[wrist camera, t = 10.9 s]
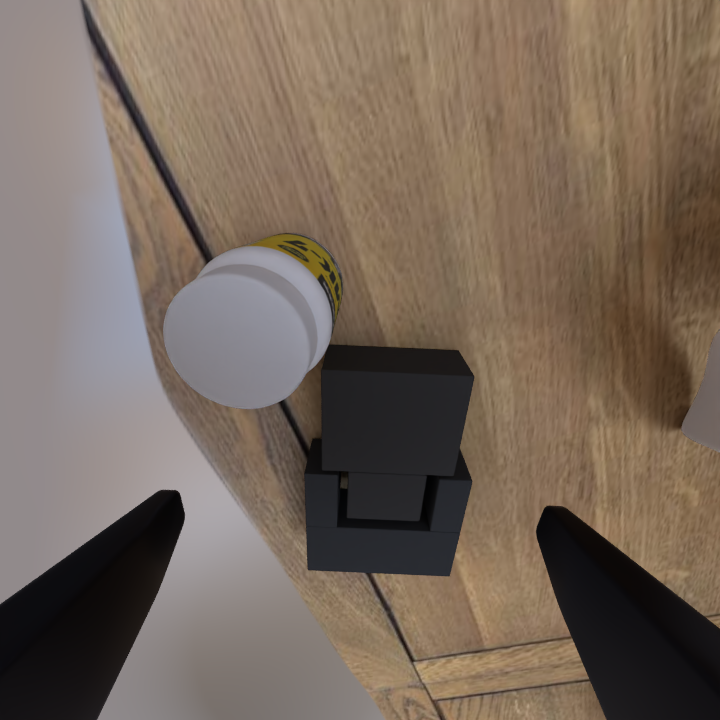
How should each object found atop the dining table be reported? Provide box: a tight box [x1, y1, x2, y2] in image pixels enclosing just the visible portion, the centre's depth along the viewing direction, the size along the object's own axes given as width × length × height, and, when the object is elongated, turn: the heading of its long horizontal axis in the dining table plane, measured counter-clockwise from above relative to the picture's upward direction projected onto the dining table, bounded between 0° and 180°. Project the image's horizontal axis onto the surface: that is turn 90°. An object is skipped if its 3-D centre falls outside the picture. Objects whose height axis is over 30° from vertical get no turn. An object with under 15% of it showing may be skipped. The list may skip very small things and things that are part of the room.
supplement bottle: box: [163, 233, 343, 409], centre depth 13 cm, size 5×5×8 cm
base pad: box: [304, 439, 472, 576], centre depth 21 cm, size 9×8×3 cm
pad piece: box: [321, 345, 474, 521], centre depth 19 cm, size 7×10×3 cm
